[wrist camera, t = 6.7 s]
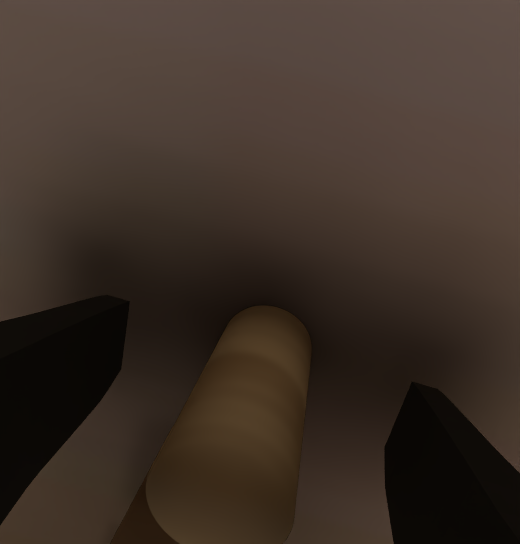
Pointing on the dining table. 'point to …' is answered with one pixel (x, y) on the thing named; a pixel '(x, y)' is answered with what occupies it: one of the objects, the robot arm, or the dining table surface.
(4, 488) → the robot arm
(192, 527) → the tan rounded-end part
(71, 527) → the dining table surface
